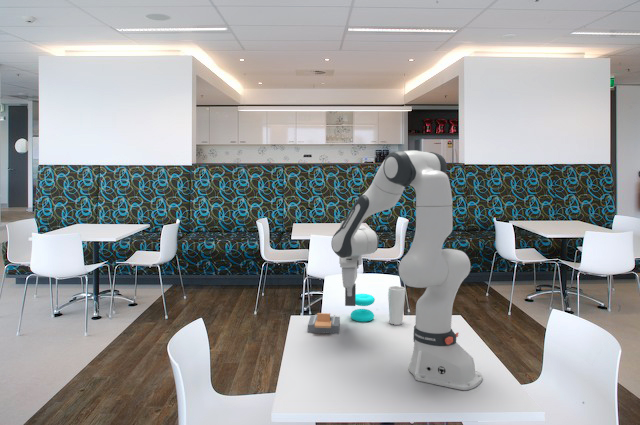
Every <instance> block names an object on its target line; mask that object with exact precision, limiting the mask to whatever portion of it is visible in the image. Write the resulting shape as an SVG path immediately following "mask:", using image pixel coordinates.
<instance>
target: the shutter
mask: <svg viewBox="0 0 640 425" xmlns="http://www.w3.org/2000/svg"><path fill="white" fill-rule="evenodd" d="M316 314H317V320H316V322H315V328H331V324H332V321H330V316H331V313H323V312H317V313H316Z"/></svg>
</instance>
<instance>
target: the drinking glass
mask: <svg viewBox="0 0 640 425" xmlns="http://www.w3.org/2000/svg"><path fill="white" fill-rule="evenodd" d="M387 296H388V312H389V315H388V316H389V324H391V325H393V324H394V326H400V325H402V324H403V319H404V318H403V317H404V310H405V299H406V288H405V287H404V286H402V285H401V286H400V285H392V286H389V287H388V294H387Z"/></svg>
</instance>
